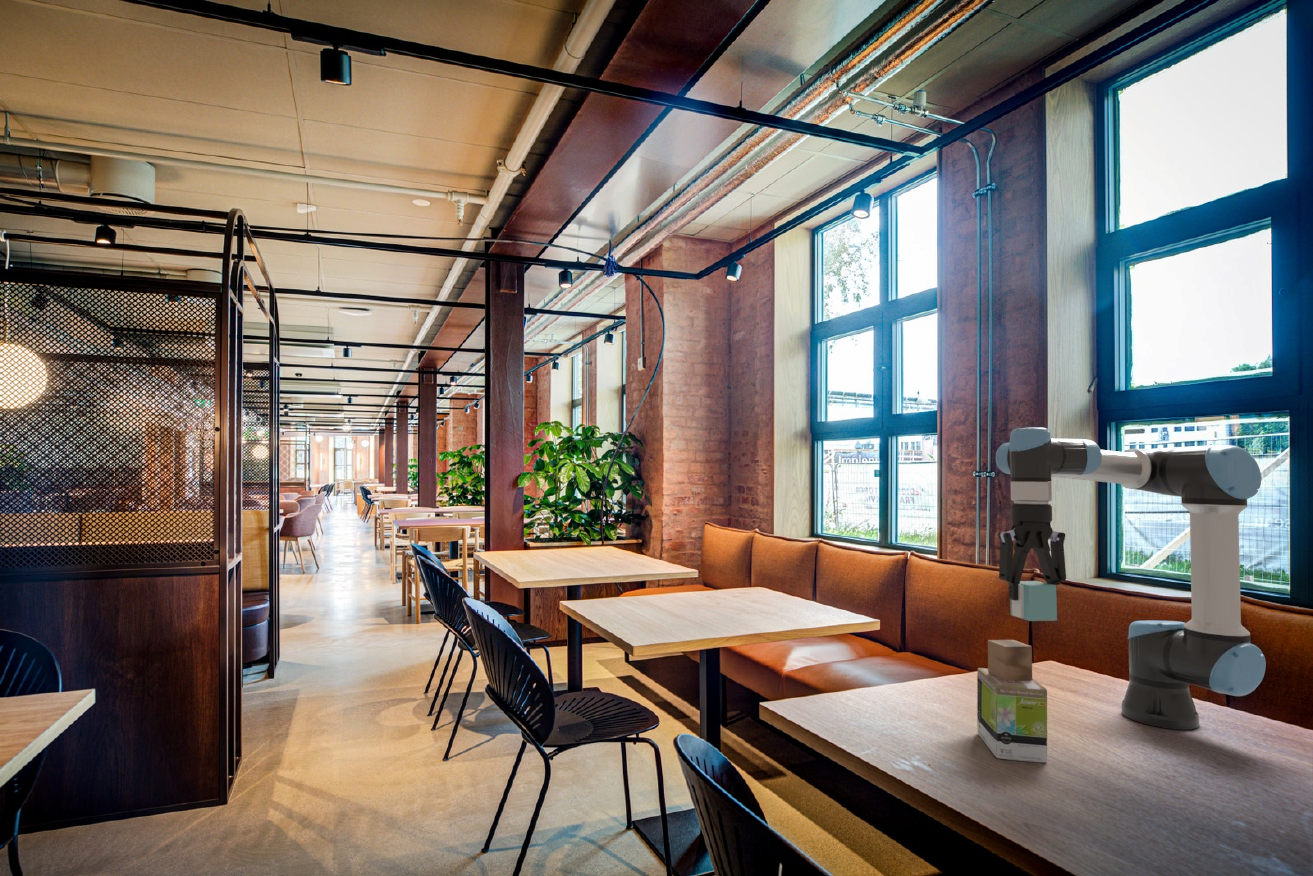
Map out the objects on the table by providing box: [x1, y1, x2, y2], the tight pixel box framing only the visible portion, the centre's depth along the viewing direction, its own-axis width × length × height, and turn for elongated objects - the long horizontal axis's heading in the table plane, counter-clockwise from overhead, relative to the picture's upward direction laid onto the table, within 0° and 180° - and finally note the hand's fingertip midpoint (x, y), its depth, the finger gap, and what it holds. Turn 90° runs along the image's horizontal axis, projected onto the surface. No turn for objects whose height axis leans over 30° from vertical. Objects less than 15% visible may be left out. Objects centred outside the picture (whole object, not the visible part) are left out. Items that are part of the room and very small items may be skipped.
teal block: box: [1009, 580, 1058, 622], centre depth 145 cm, size 6×6×7 cm
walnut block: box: [987, 639, 1033, 681], centre depth 150 cm, size 6×6×7 cm
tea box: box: [976, 667, 1048, 763], centre depth 150 cm, size 15×10×15 cm
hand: (1033, 615), depth 145 cm, fingers closed on teal block, 6 cm apart
